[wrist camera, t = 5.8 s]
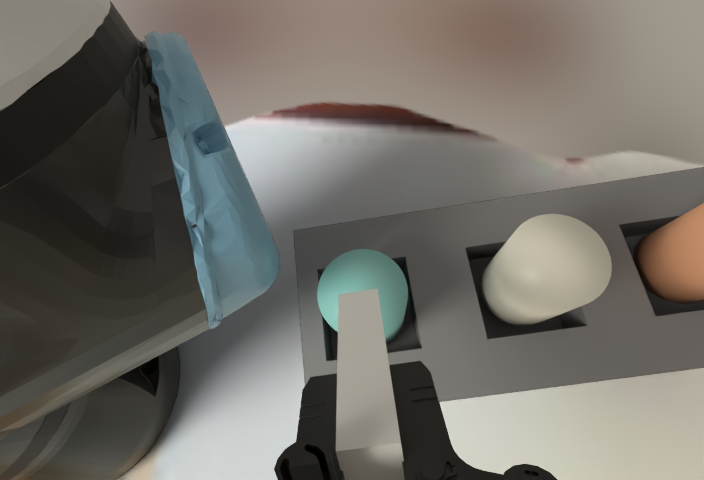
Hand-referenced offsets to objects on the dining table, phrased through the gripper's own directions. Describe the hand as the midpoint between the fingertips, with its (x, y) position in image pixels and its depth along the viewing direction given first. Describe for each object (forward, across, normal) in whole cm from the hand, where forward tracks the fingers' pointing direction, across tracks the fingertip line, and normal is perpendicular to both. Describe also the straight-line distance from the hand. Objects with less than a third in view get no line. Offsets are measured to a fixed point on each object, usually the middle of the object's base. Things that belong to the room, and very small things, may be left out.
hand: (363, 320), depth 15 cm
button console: (+13, +9, -10) cm, 19 cm away
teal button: (+8, 0, -5) cm, 9 cm away
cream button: (+7, +9, -4) cm, 12 cm away
